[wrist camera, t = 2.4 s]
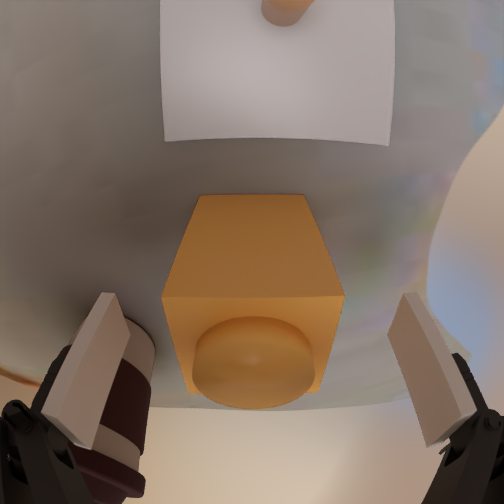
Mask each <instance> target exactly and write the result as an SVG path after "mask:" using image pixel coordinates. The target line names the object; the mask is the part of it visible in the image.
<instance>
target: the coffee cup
mask: <svg viewBox="0 0 504 504" xmlns="http://www.w3.org/2000/svg"><path fill="white" fill-rule="evenodd" d="M86 319H87V317H86V318H85V319H84V320H83V322H82V323H81V325H80V326H79V328H78V329H77V331H76V332H75V334H74V336H73V337H72V339H71V341H70V342H69V344H68V345H67V346H66V347H64V348H63V349H62V351H61V352H60V354H61V355H66V356H67V354H68V352H69V350H70V348H71V347H72V345H73V343H74V341H75V339H76V337H77V335H78V333H79V331H80V330H81V328H82V326H83V324H84V322H85V320H86ZM124 319H125V322H126V324H127V327H128V329H129V332H130V338H129V340H128V343H127V345H126V348H125V350H124V353H123V356H122V358H121V361H120V364H119V366H118V369H117V372H116V375H115V377H114V380H113V383H112V386H111V389H110V392H109V395H108V397H107V400H106V403H105V406H104V409H103V413H102V416H101V419H100V422H99V425H98V428H97V432H96V435H95V438H94V442H93V445H92V448H91V450H89V449H86V448H83V447H80V446H77V445H75V444H74V443H73V442H71V441H70V440H69V441H68V444H67V445H68V446H69V448H70V449H71V452H72V454H73V457H74V459H75V461H76V464H77V466H78V468H79V471H80V473H81V475H82V477H83V479H84V481H85V483H86V485H87V487H88V489H89V491H90V493H91V495H92V497H93V499H94V501H95V503H96V504H122V502H123V501H124V500H125V498H126V497H131V498H140V497H142V496H143V495H144V489H145V481H146V480H145V478H144V476H143V475H141V474H140V473H139V472H138V469H139V459H140V456H141V455H142V454H143V451H144V443H145V434H146V426H147V418H148V411H149V404H150V397H151V386H150V381H151V375H152V369H153V364H154V358H155V348H154V345H153V342H152V340H151V339H150V337H149V336H148V335H147V333H146V332H145V331H144V330H143V329H142V328H140V327H139V326H138V325H136V324H135V323H134V322H132V321H130V320H128V319H126V318H124ZM60 354H59V355H60ZM59 355H58V356H59ZM43 382H44V381H43ZM37 393H38V392H37ZM36 395H37V394H36ZM35 397H36V396H35ZM34 399H35V398H34ZM33 401H34V400H33ZM32 404H33V402H32Z"/></svg>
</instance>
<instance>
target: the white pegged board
mask: <svg viewBox="0 0 504 504" xmlns="http://www.w3.org/2000/svg"><path fill="white" fill-rule="evenodd" d="M160 61H161V88H162V107H163V122H164V135H165V142H169V141H182V140H197V139H219V138H297V139H318V140H334V141H347V142H358V143H368V144H377V145H385V146H389V140H390V131H391V120H392V108H393V94H394V72H395V19H394V0H160Z"/></svg>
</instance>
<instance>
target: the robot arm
mask: <svg viewBox="0 0 504 504" xmlns="http://www.w3.org/2000/svg"><path fill="white" fill-rule="evenodd" d="M387 335H388V337H389V340H390V342H391V345H392V347H393V350H394V353H395V355H396V358H397V360H398V363H399V365H400V368H401V371H402V374H403V376H404V379H405V382H406V385H407V387H408V390H409V393H410V396H411V399H412V402H413V405H414V408H415V410H416V414H417V417H418V420H419V423H420V426H421V429H422V433H423V436H424V440H425V443H426V446H427V448H429V447H432V446H435V445H439V444H442V443H443V442H444V441H445V440H446V439H447V438H449V439H450V443H449V444H448V445H446V446H445V447H444V448H443V449H442V450H441V451H440V452H439V454H440V455H441V454H442V453H443V452H444V451H445V454H444V456H443V459H442V461H441V464H440V466H439V468H438V471H437V473H436V475H435V477H434V479H433V481H432V484H431V486H430V488H429V490H428V492H427V494H426V496H425V498H424V500H423V502H422V503H421V504H504V416H500V414H499V413H498V412H496V411H495V410H491V409H488V407H487V405H486V403H485V401H484V398H483V396H482V394H481V392H480V390H479V387H478V385H477V383H476V381H475V380H474V377H473V375H472V373H471V372H470V369H469V367H468V365H467V363H466V361H465V360H464V359H463V358H462V357H461V356H460V355H459V354H458V353H454V354H451V353H450V351H449V349H448V347H447V345H446V343H445V341H444V339H443V337H442V336H441V334H440V332H439V330H438V328H437V326H436V325H435V323H434V321H433V319H432V318H431V316H430V314H429V312H428V311H427V309H426V307H425V305H424V304H423V302H422V300H421V299H420V297H419V295H418V294H417V292H414V293H403V295H402V298H401V301H400V304H399V306H398V309H397V312H396V314H395V317H394V319H393V322H392V324H391V327H390V329H389V332H388V334H387ZM129 338H130V332H129V329H128V327H127V324H126V322H125V319H124V316H123V313H122V311H121V308H120V305H119V302H118V299H117V296H116V293H103V292H101V294H100V296H99V298H98V299H97V301H96V303H95V304H94V306H93V308H92V310H91V311H90V313H89V315H88V317H87V319H86V320H85V322H84V324H83V326H82V328H81V330H80V331H79V333H78V335H77V337H76V339H75V341H74V343H73V345H72V347H71V348H70V350H69V352H68V354H67V356H66V355H61V354H60V355H59V356H58V357H57V358H56V359H55V360H54V361H53V362H52V364H51V366H50V368H49V370H48V372H47V374H46V376H45V378H44V382H42V384H41V386H40V388H39V390H38V393H37V395H36V397H35V399H34V401H33V404H32V406H31V408H30V409H29V408H28V407H27V406H26V405H25V404H24V403H23V402H22V401H20V400H12V401H10V402H8V403H7V404H6V405H5V407H4V408H3V411H2V418H1V417H0V504H96V503H95V501H94V499H93V497H92V495H91V493H90V491H89V489H88V487H87V485H86V483H85V481H84V479H83V477H82V475H81V473H80V471H79V468H78V466H77V464H76V461H75V459H74V457H73V454H72V452H71V449H70V448H69V446H68V445H67V444H68V441H69V440H70V441H71V442H73V443H74V444H75V445H77V446H80V447H83V448H86V449H89V450H91V448H92V445H93V442H94V438H95V435H96V432H97V428H98V425H99V422H100V419H101V416H102V413H103V409H104V406H105V403H106V400H107V397H108V395H109V392H110V389H111V386H112V383H113V380H114V377H115V375H116V372H117V369H118V366H119V364H120V361H121V358H122V356H123V353H124V350H125V348H126V345H127V343H128V340H129Z"/></svg>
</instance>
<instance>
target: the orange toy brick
mask: <svg viewBox="0 0 504 504" xmlns="http://www.w3.org/2000/svg"><path fill="white" fill-rule="evenodd" d="M344 298H345V294H344V292H343V289H342V286H341V284H340V281H339V278H338V276H337V273H336V271H335V268H334V266H333V263H332V261H331V258H330V256H329V253H328V251H327V248H326V246H325V243H324V241H323V238H322V236H321V234H320V231H319V229H318V227H317V224H316V222H315V219H314V217H313V215H312V213H311V210H310V208H309V206H308V203H307V201H306V199H305V197H304V195H297V194H233V195H200V197H199V199H198V202H197V204H196V207H195V209H194V211H193V214H192V216H191V219H190V221H189V224H188V226H187V229H186V231H185V234H184V236H183V239H182V241H181V244H180V247H179V249H178V252H177V254H176V257H175V260H174V262H173V265H172V268H171V270H170V273H169V276H168V279H167V281H166V284H165V287H164V290H163V293H162V295H161V299H162V303H163V307H164V311H165V315H166V319H167V322H168V326H169V330H170V333H171V337H172V340H173V344H174V347H175V351H176V354H177V357H178V361H179V364H180V367H181V371H182V374H183V377H184V380H185V383H186V386H187V389H188V392H189V393H195V394H203V395H204V396H206V397H207V398H209V399H211V400H213V401H215V402H217V403H219V404H222V405H226V406H230V407H234V408H241V409H265V408H271V407H276V406H280V405H283V404H286V403H289V402H291V401H293V400H295V399H297V398H299V397H300V396H302V395H303V394H304V393H313V392H318V390H319V387H320V384H321V381H322V378H323V375H324V371H325V368H326V365H327V361H328V358H329V355H330V351H331V348H332V344H333V341H334V337H335V333H336V329H337V326H338V322H339V318H340V314H341V310H342V306H343V302H344Z"/></svg>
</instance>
